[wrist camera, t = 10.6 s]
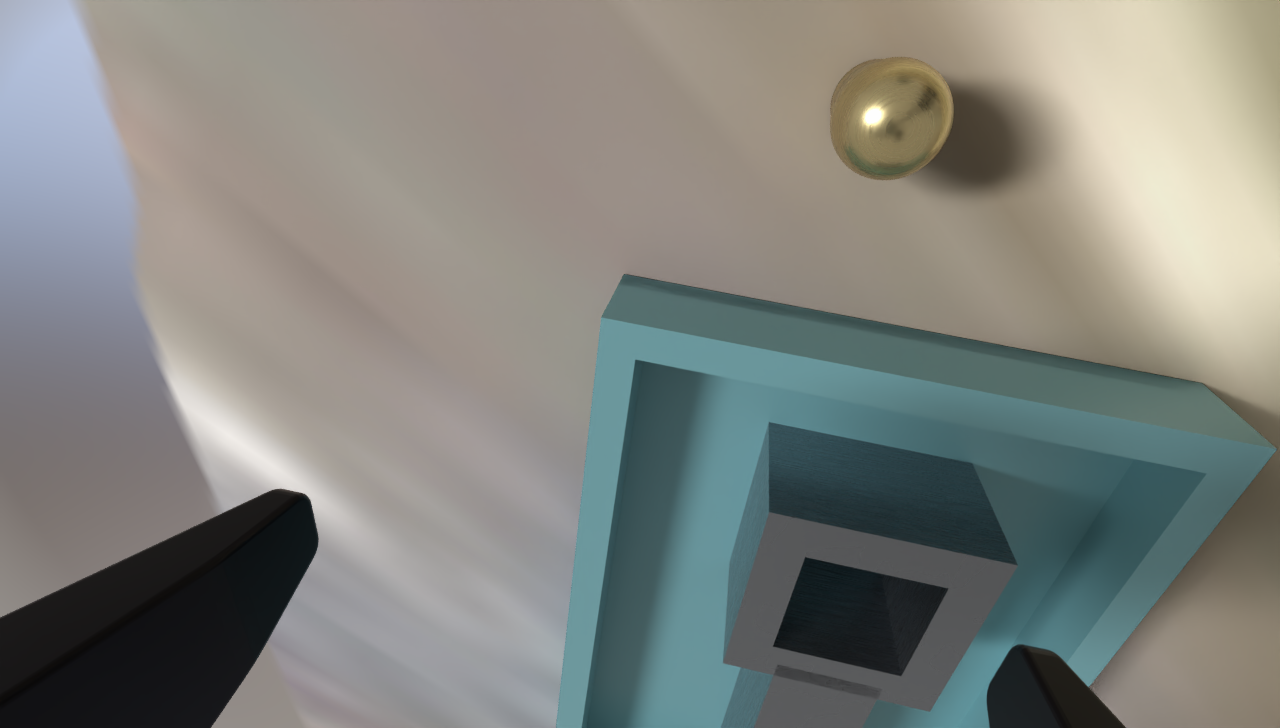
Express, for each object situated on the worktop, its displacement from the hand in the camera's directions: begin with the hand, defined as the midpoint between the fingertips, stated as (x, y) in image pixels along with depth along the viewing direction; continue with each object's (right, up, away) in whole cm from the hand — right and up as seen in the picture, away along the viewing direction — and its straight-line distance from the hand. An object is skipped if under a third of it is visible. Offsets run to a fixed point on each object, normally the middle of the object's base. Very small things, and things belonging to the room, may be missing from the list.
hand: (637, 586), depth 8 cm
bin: (+6, -6, +16) cm, 18 cm away
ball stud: (+6, +9, +7) cm, 13 cm away
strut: (+6, -6, +15) cm, 17 cm away
